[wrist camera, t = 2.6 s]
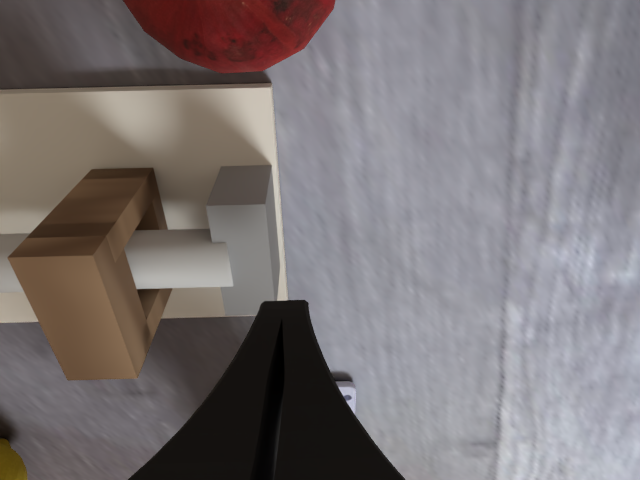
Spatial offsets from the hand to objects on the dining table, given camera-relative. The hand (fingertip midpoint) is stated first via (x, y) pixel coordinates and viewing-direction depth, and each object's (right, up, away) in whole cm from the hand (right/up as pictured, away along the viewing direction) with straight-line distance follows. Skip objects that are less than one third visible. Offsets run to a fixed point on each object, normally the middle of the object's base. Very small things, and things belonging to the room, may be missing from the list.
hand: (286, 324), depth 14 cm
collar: (-7, +4, +6) cm, 10 cm away
